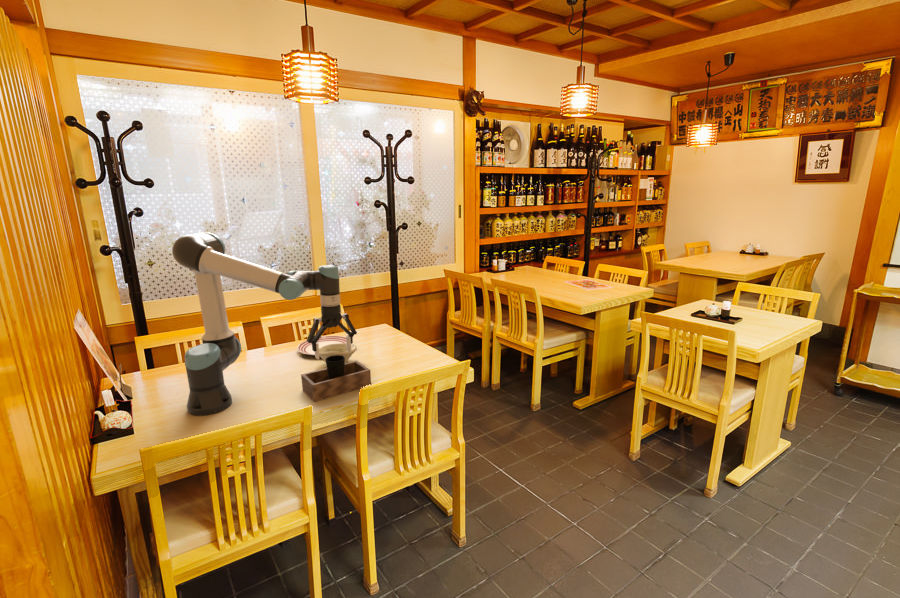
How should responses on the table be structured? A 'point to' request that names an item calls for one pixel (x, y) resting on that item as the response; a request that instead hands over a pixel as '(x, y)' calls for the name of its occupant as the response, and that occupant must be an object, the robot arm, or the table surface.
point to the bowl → (336, 351)
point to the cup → (335, 366)
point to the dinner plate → (320, 343)
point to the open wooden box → (335, 381)
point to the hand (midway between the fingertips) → (333, 354)
